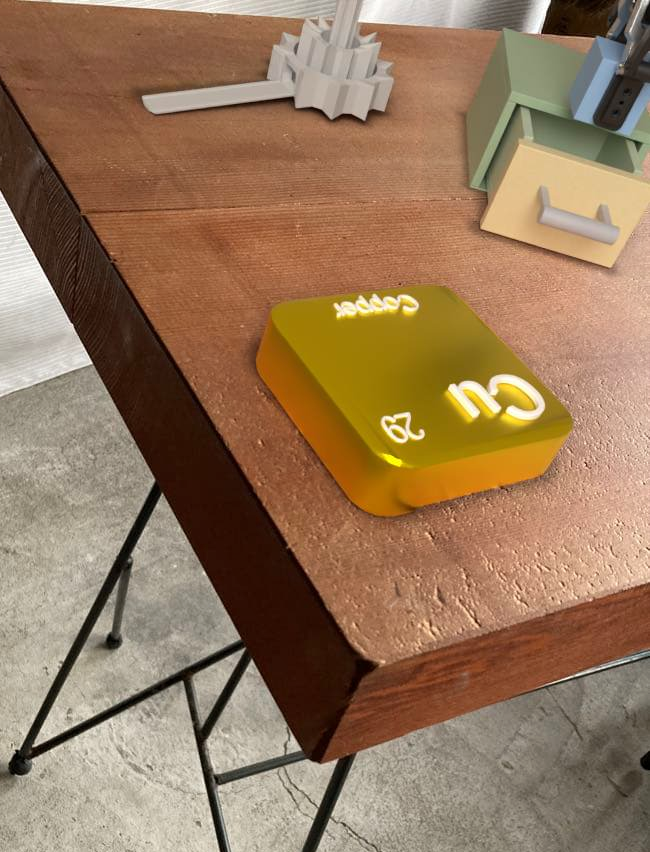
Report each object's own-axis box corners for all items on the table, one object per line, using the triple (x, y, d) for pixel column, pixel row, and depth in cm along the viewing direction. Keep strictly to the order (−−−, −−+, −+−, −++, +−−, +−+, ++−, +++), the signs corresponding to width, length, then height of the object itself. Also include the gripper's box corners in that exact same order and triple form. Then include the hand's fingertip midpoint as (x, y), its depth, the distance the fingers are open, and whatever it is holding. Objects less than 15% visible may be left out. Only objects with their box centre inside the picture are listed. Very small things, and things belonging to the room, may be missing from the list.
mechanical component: (132, 111, 83) (153, -88, 72) (320, 59, 97) (362, -114, 86) (225, 176, 79) (263, -24, 68) (407, 111, 93) (463, -63, 82)
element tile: (424, 330, 69) (450, 272, 66) (556, 478, 62) (593, 421, 58) (242, 356, 62) (260, 293, 59) (365, 527, 55) (395, 466, 51)
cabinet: (601, 234, 86) (657, 136, 80) (466, 193, 85) (511, 90, 79) (584, 160, 96) (632, 68, 90) (463, 123, 95) (503, 26, 89)
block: (621, 111, 78) (652, 53, 74) (629, 136, 74) (662, 76, 71) (567, 94, 77) (596, 35, 74) (572, 119, 74) (603, 57, 71)
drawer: (618, 301, 77) (669, 218, 72) (481, 260, 76) (523, 173, 71) (592, 191, 90) (634, 114, 85) (475, 155, 89) (510, 75, 84)
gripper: (813, -96, 59) (659, 168, 71) (759, -150, 69) (632, 90, 81) (697, -135, 58) (562, 138, 70) (660, -184, 68) (547, 62, 80)
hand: (600, 111), depth 76 cm, fingers closed on block, 4 cm apart
